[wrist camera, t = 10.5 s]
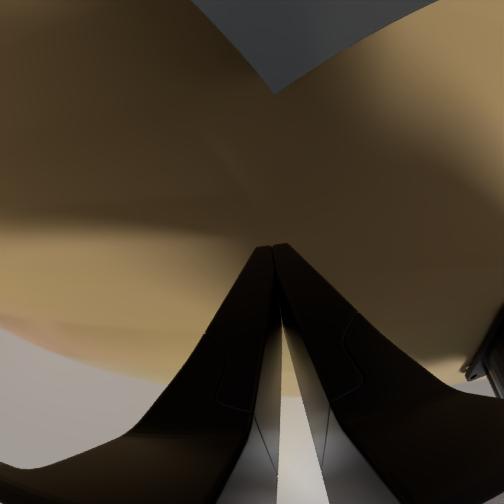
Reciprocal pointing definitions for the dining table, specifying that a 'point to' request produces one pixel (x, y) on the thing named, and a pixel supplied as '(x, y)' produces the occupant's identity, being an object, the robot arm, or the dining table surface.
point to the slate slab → (299, 30)
